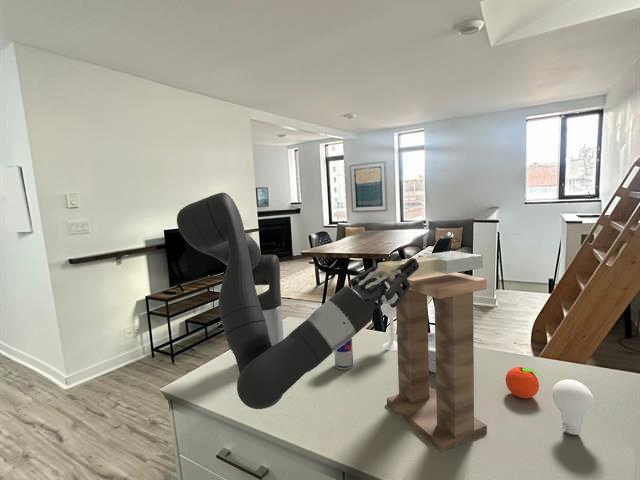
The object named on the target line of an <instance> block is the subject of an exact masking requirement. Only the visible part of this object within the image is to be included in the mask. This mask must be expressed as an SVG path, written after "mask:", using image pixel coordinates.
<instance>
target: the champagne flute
mask: <svg viewBox="0 0 640 480" xmlns="http://www.w3.org/2000/svg"><path fill="white" fill-rule="evenodd" d="M385 284H386V286H387V288H388V289H389V286H388V284H387V282H385ZM380 310H381V312H382V313H383V314H384V315H385V316H386V317H387V318H389V330H390V331H389V334H390V338H389V339H390V340H389V341H387V342H385V343H383V344H382V346H381V347H382V349H384V350H385V351H392V352H395V351H396V352H398V350H397V341H395V328H394V327H395V326H394V325H395V323H394V319H396V307H394V308H392V307H391V306H390V304H388V303H383V305H381V306H380Z"/></svg>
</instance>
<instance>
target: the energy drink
mask: <svg viewBox="0 0 640 480" xmlns="http://www.w3.org/2000/svg"><path fill="white" fill-rule="evenodd" d="M333 353H334V366H335V368H336V369H337V370H340V371H346V370H351V369H352V368H353V367H354V354H353V337H352V338H351V339H350V340H349V341H348V342H347V343H345V344H344V345H343V346H341V347H340V348H338V349H337V350H335V351H334V352H333Z"/></svg>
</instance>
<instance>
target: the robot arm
mask: <svg viewBox="0 0 640 480" xmlns="http://www.w3.org/2000/svg"><path fill="white" fill-rule="evenodd" d="M243 222H244V221H243V219H242V216H241V213H240V211H239V208H238V206H237V204H236V203H235V201H234V200H233V198H232V197H231V196H230V195H229V194H228V193H226V192H218V193H214V194H212V195H210V196H207V197H204V198H202V199H200V200H197V201H194V202H192V203H190V204H187V205H185V206H184V207H182V208H181V209H179V211H178V213H177V216H176V225H177V228H178V231H179V232H180V235H181V236H182V237H183V239H184V240H185V242H187V243H188V245H189V246H191V247H192V248H193V249H195V250H196V251H198V252H200V253H203V254H205V255H207V256H210V257H213V258H215V259H217V260H219V261H220V262H222V263H223V264H224V265H225V266H226V269H225V273H224V277H223V279H222V284H221V287H220V291H219V295H218V313H219V317H220V321H221V325H222V329H223V332H224V336H225V339H226V343H227V345H228V348H229V349H230V351H231V352H232V354H233V355H234V358H235V362H236V366H237V369H238V373H239V376H238V378H237V383H236V392H237V395H238V398H239V399H240V401H241V402H242V404H243V405H245V407H248V408H250V409H253V410H263V409H268V408H271V407H274V406H275V405H277V403H278V402H279V401H280V400H281V399H282V397H283V395H284V394H285V393H286V392H288V390H289V389H291V388H292V387H293V386H294V385H295V384H296V383H297V382H298V381H299V380H300V379H301V378H302V377H303V376H304V375H305V374H306V373H307V374H308V373H309V372H311V371H313V370H314V369H315V368H317V367H318V366H319V365H320V364H322V362H324V361H326V359H327V358H329V356H331V355H332V354H333V353H334V351H335V350H337V349H338V348H340V347H341V346H343V345H344V344H345V343H347V342H348V341H349V340H350V339H351V338H352V339H353V338H354V337H355V336H356V335H357V334H358V333H359V332H360V331H362V329H363V328H365V327H366V326H367V325H368V324H370V322H372V321H373V318H374V315H373V313H374V310H376V309H378V308H381V305H383V303H388V304H390V306H391V307H392V308H394V307H396V306H397V305H398V303H399V302H400V301H401V299H402V298H403V296H404V295H405V293H406V292H407V290H408V289H409V288H410V286H411V285H410V283H409V282H408V280H407V278H408V277H409V276H411V275H412V274H413V273H414V272H415V271H416V270H417V269H418V268H419V265H418V263H417V261H416V259H414V258H415V257H411V258H408V259H409V260H408V261H407V262H406V263H405V264H404V265H403V266H401V267H400V268H399V269H398V270H397V271H395V272H394V273H392V274H391V275H389V276H388V275H384V276H383V277H380V276H379V272H378V267H377V265H373V266H371V267H369V268H367V269H366V270H365V271H363V272H361V273H359V274H357V275H356V276H354V277H352V278H351V279H350V280H349V281H348V283H349V284H350V286H343V287H342V288H341V289H340V290H338V291H337V292H336V293H335V294H333V295H332V296H331V297H330V298H329V299H327V300H326V301H325V302H324V303H322V304H321V305H320V306H319V307H317V308H316V310H315V311H313V312H312V314H311V315H310V316H309V317H308V318H306V320H304V321H303V322H302V323H300V325H298V326H297V327H296V328H295V329H294V330H292V331H291V332H290V333H289V334H288V335H287V336H285V338H284V324H283V323H284V322H283V310H282V309H283V308H282V297H281V296H282V291H281V265H280V264H281V263H280V259H279V257H278V256H277V255H276V254H261V248H260V246H259V245H258V243H257V242H256V240H255V239H254V238H253V237H252V236H251V235H250V234H249V233H247V232H245V227H244V223H243ZM396 260H403V259H402V257H401V256H400V255H398V254H395V255H394V256H393V257H392V258H391V259H390V260H389V261H396ZM396 277H397V278H396ZM395 278H396V280H395V281H394V282H392V280H393V279H395ZM385 282H387V284H388V286H389V289H388V288H387V286H386V284H385ZM256 286H268V289H267V290H265V291H263V292H262V293H259V294H258V293H257V288H256ZM401 286H402V287H401Z"/></svg>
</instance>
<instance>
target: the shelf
mask: <svg viewBox="0 0 640 480" xmlns="http://www.w3.org/2000/svg"><path fill="white" fill-rule="evenodd" d="M395 280H396V279H393V280H392V282H394V281H395ZM407 280H408V282H409V283H410V285H411V286H410V288H409V289H408V290H407V292H406V293H405V295H404V296H403V298H402V299H401V301H400V302H399V303H398V305H397V306H396V317H395V319H396V342H397V350H398V351H397V371H398V372H397V375H398V378H397V379H398V394H395V395H391V396H388V397H386V404H387V405H388V407H390V408H391V409H392V410H393V411H394V412H396V413H397V414H398V415H399V416H400V417H401V418H402V419H403V420H405V421H406V422H407V423H408V424H409V425H410V426H411V427H413V429H415V430H416V431H417V432H418V433H420V435H422V437H424V438H425V439H426V440H427V441H428V442H429V443H431V444H432V445H433V446H434V447H435V448H436V449H437V450H439V452H444V451H446V449H447V450H448V449H451V448H453V447H455V446H457V445H460V444H463V443H465V442H467V441H470V440H472V439H474V438H476V437H479V436H482V435H483V434H484V435H485V434H486V433H487V432H488V425H487V424H485V423H484V422H483V421H481V420H479V419H478V418H477V417H475V380H474V379H475V373H474V372H475V371H474V367H475V365H474V364H475V363H474V361H475V357H474V351H475V349H474V293H475V292H479V291H483V290H487V278H483V277H479V276H474V275H470V274H465V273H462V272H456V273H449V274H445V273H441V272H437V273H431V274H425V275H418V276H412V277H408V278H407ZM401 287H402V286H401ZM428 296H429V297H431V298H434V301H433V302H434V332H435V352H436V373H435V389H436V390H435V389H434V388H432V387H431V386H430V370H429V353H428V333H429V323H428V322H429V319H428V317H429V315H428V314H429V313H428V312H429V311H428Z"/></svg>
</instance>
